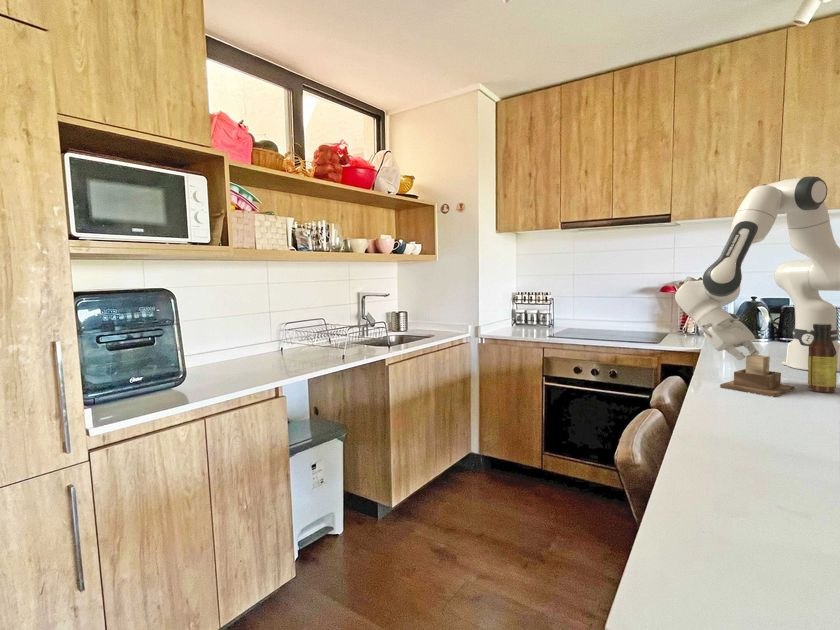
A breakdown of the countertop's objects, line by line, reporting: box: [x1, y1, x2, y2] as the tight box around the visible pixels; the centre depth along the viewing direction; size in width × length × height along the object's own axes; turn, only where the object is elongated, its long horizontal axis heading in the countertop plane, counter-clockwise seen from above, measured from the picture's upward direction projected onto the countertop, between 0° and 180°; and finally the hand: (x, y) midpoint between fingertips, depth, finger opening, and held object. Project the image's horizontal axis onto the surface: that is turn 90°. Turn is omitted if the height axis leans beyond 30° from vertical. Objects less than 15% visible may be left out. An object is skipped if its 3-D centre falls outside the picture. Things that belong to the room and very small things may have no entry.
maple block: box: [745, 354, 771, 376], centre depth 136 cm, size 4×4×9 cm
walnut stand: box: [719, 368, 796, 398], centre depth 136 cm, size 14×14×5 cm
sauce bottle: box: [807, 323, 838, 394], centre depth 131 cm, size 6×6×20 cm
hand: (749, 356), depth 138 cm, fingers open, 8 cm apart
